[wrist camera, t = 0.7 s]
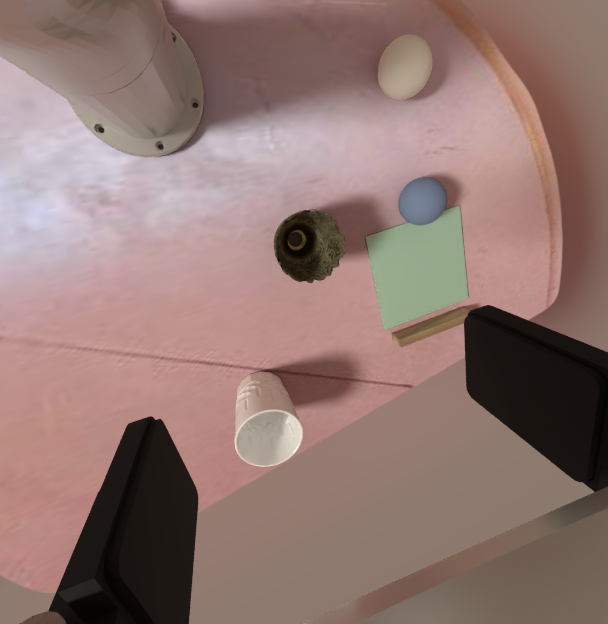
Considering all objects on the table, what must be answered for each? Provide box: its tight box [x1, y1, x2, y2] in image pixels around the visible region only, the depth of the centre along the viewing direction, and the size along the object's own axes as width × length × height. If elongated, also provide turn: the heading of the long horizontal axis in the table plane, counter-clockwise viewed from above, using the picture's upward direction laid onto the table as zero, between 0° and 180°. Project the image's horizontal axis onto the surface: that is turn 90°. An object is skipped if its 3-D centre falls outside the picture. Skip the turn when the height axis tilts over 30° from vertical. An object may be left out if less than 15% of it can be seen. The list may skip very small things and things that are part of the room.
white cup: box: [235, 371, 303, 467], centre depth 42 cm, size 8×8×10 cm
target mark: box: [365, 205, 468, 330], centre depth 46 cm, size 14×14×1 cm
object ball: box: [398, 177, 447, 225], centre depth 40 cm, size 6×6×6 cm
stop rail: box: [392, 307, 471, 347], centre depth 48 cm, size 1×12×2 cm, turn 106°
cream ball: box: [378, 34, 433, 100], centre depth 34 cm, size 6×6×6 cm
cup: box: [274, 210, 345, 283], centre depth 37 cm, size 8×7×8 cm
